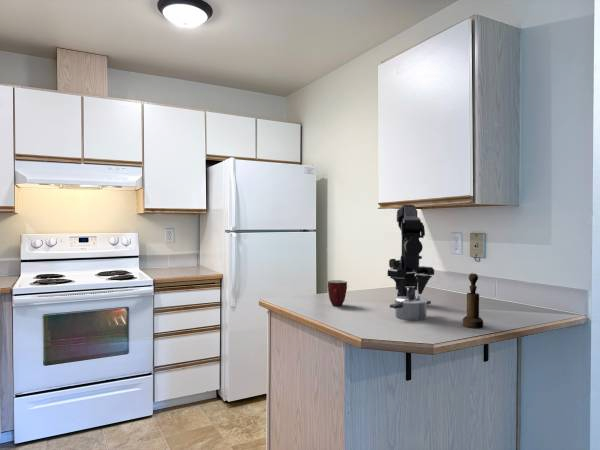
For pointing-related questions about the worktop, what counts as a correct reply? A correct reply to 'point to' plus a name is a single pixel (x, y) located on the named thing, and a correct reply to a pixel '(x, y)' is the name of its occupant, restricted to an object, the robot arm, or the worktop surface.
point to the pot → (410, 311)
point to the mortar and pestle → (473, 306)
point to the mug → (337, 291)
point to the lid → (411, 297)
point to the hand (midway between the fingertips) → (410, 295)
